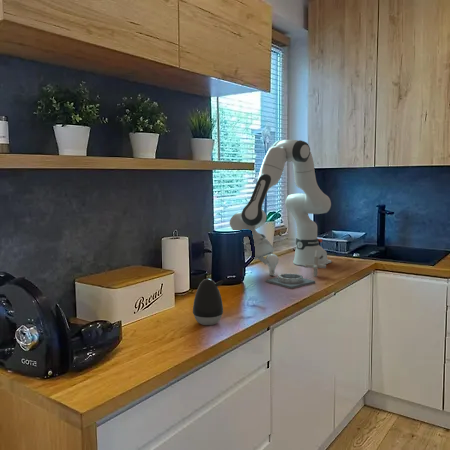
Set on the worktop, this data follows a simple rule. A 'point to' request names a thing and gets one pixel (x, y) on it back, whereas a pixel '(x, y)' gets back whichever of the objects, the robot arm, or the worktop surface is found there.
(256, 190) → the robot arm
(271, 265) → the lightbulb
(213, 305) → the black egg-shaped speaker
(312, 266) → the pipe connector
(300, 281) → the collar board
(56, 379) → the worktop surface
